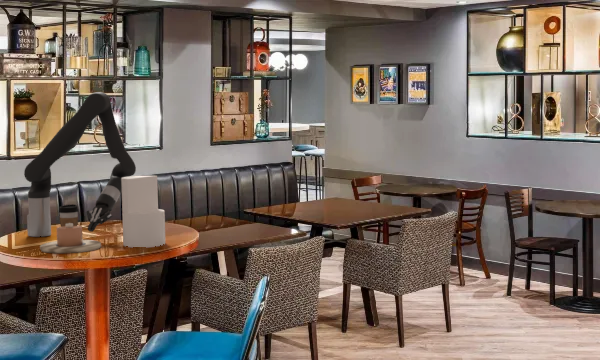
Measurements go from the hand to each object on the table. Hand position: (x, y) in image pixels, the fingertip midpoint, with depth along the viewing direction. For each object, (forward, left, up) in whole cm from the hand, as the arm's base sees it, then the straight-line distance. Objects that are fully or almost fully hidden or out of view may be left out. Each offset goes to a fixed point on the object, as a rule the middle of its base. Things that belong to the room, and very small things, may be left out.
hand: (89, 230), depth 350 cm
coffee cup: (-14, +6, -6) cm, 16 cm away
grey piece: (+23, +4, -6) cm, 24 cm away
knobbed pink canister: (-2, -12, -4) cm, 13 cm away
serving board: (-2, -12, -6) cm, 13 cm away
